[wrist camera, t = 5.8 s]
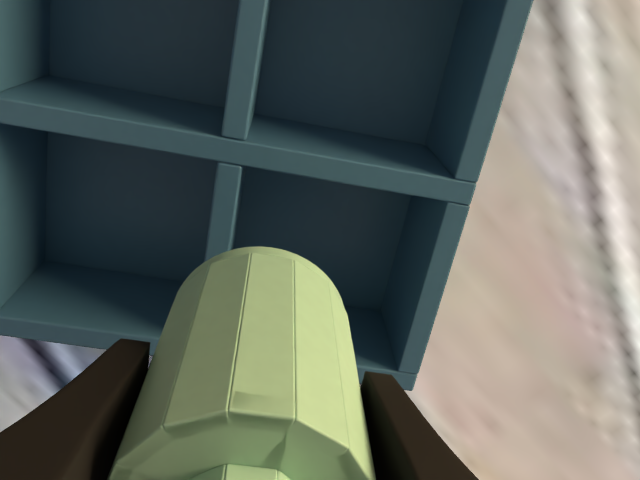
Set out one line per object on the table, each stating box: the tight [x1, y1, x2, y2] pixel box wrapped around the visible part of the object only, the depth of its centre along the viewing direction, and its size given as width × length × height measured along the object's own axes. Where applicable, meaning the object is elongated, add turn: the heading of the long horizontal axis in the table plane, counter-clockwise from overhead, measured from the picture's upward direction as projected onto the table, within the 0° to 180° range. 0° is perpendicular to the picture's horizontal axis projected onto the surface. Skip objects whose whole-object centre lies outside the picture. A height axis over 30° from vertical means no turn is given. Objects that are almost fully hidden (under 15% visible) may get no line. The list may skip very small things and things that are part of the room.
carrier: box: [0, 0, 533, 391], centre depth 18 cm, size 14×14×5 cm
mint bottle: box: [107, 247, 376, 480], centre depth 12 cm, size 4×5×8 cm
